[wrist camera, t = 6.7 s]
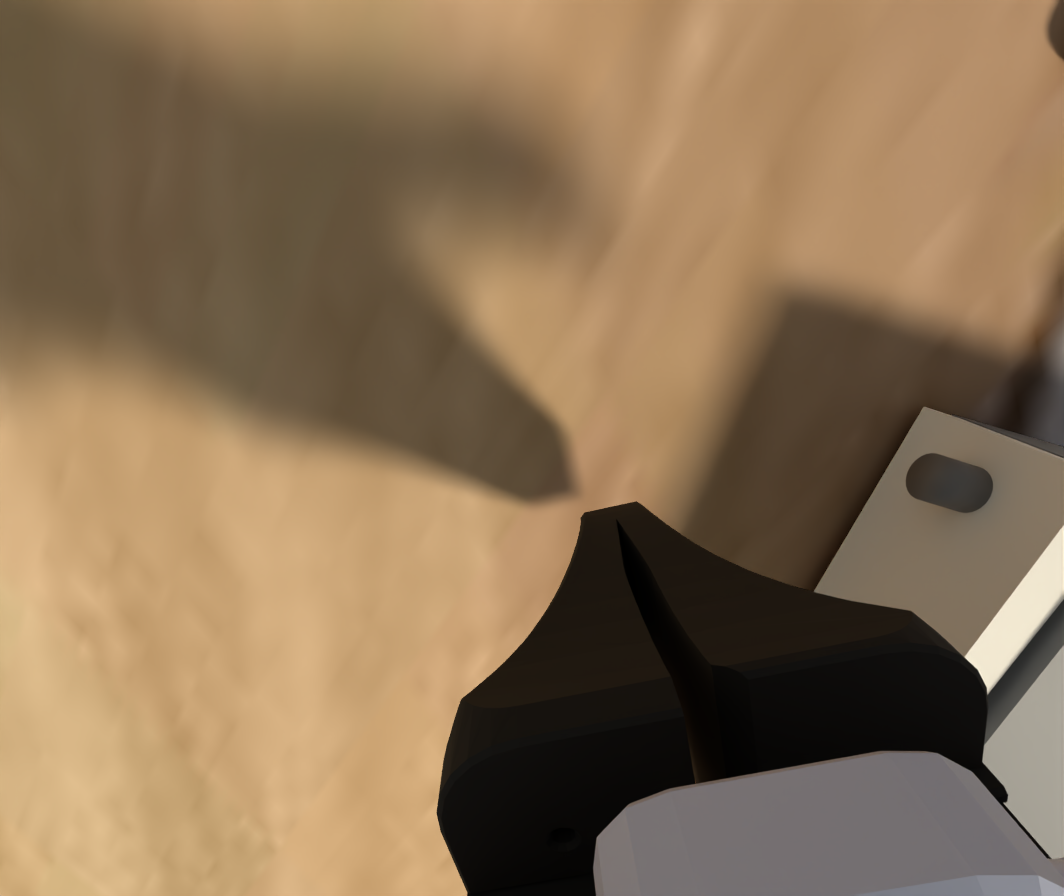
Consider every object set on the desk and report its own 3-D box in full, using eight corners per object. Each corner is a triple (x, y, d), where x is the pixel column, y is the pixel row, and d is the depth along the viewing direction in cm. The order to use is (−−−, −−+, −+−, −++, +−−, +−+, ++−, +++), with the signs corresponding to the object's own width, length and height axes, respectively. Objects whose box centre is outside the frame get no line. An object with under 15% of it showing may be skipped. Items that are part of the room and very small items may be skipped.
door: (887, 394, 12) (1051, 459, 9) (963, 419, 13) (1154, 493, 9) (660, 795, 17) (701, 953, 13) (719, 807, 17) (775, 965, 14)
